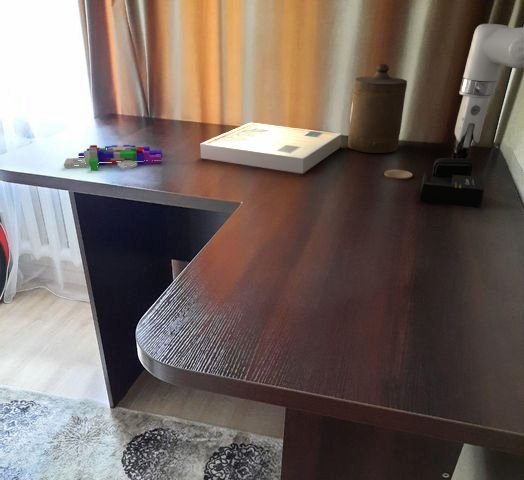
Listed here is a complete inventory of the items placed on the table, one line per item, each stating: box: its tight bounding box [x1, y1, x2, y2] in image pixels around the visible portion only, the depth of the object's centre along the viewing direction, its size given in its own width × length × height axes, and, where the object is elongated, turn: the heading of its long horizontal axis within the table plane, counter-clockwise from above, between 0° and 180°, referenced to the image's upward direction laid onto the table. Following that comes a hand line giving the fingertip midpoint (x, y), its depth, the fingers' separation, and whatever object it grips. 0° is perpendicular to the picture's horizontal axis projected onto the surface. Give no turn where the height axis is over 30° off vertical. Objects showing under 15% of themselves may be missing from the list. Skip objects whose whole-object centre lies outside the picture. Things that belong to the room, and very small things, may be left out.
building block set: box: [63, 144, 163, 172], centre depth 137 cm, size 25×20×4 cm
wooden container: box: [347, 63, 408, 154], centre depth 146 cm, size 15×15×22 cm
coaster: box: [383, 169, 413, 180], centre depth 130 cm, size 7×7×1 cm
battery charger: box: [419, 171, 485, 208], centre depth 115 cm, size 13×10×4 cm
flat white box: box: [199, 122, 343, 175], centre depth 145 cm, size 30×4×30 cm
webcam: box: [428, 157, 474, 184], centre depth 124 cm, size 9×6×6 cm
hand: (456, 168), depth 127 cm, fingers closed
